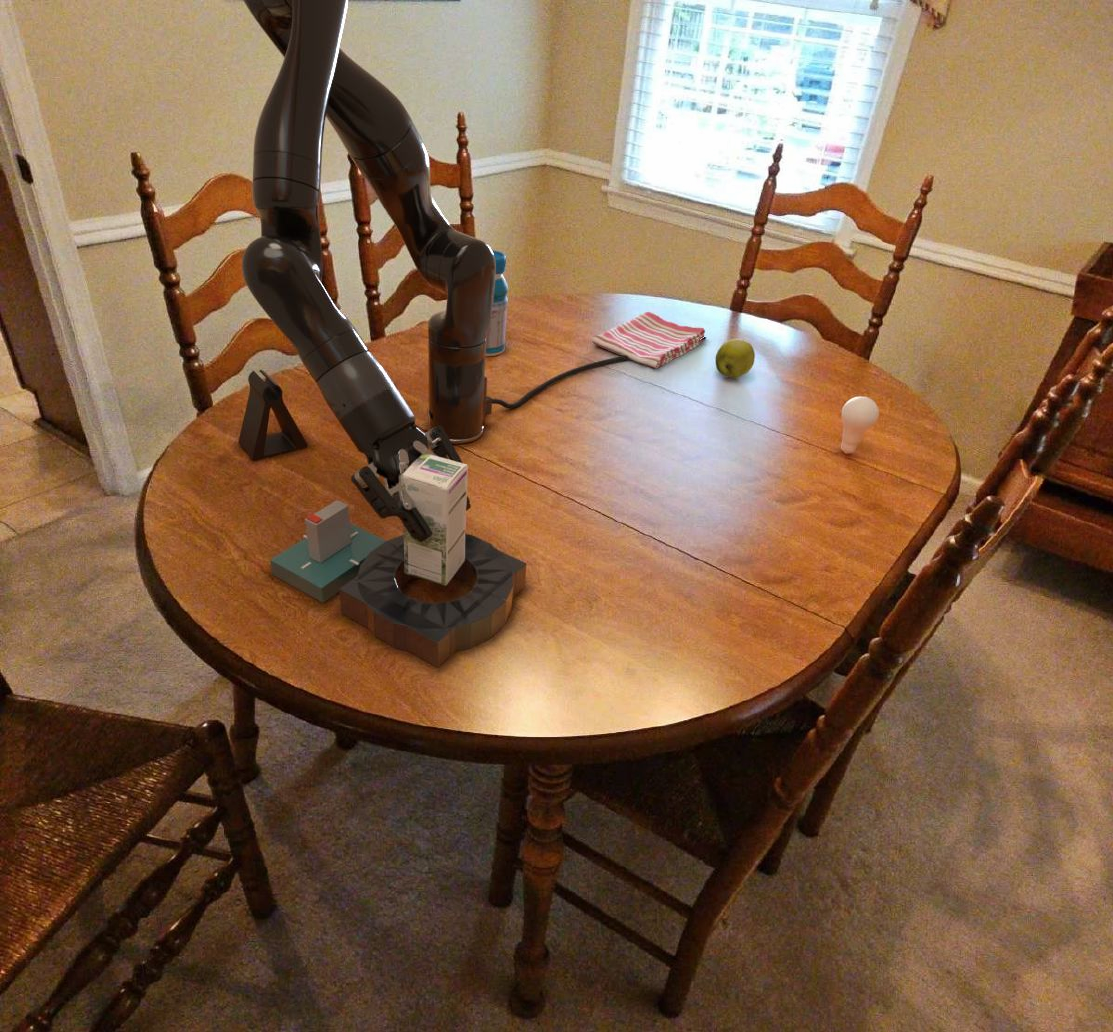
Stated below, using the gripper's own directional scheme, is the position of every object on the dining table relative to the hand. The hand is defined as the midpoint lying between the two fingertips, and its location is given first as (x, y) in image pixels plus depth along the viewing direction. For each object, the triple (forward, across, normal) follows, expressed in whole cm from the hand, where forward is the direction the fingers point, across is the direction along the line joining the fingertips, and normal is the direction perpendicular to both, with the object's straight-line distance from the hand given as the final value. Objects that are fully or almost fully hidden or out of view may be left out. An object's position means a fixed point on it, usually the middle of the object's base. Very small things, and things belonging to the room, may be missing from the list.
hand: (446, 524), depth 90 cm
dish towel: (-4, +96, +22) cm, 99 cm away
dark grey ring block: (+8, 0, +10) cm, 13 cm away
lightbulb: (+31, +76, -14) cm, 83 cm away
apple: (+10, +93, +7) cm, 94 cm away
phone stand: (-23, +13, +41) cm, 49 cm away
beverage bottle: (-22, +68, +40) cm, 82 cm away
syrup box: (+4, 0, +6) cm, 8 cm away
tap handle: (-5, -3, +19) cm, 20 cm away
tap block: (-3, -3, +21) cm, 21 cm away
